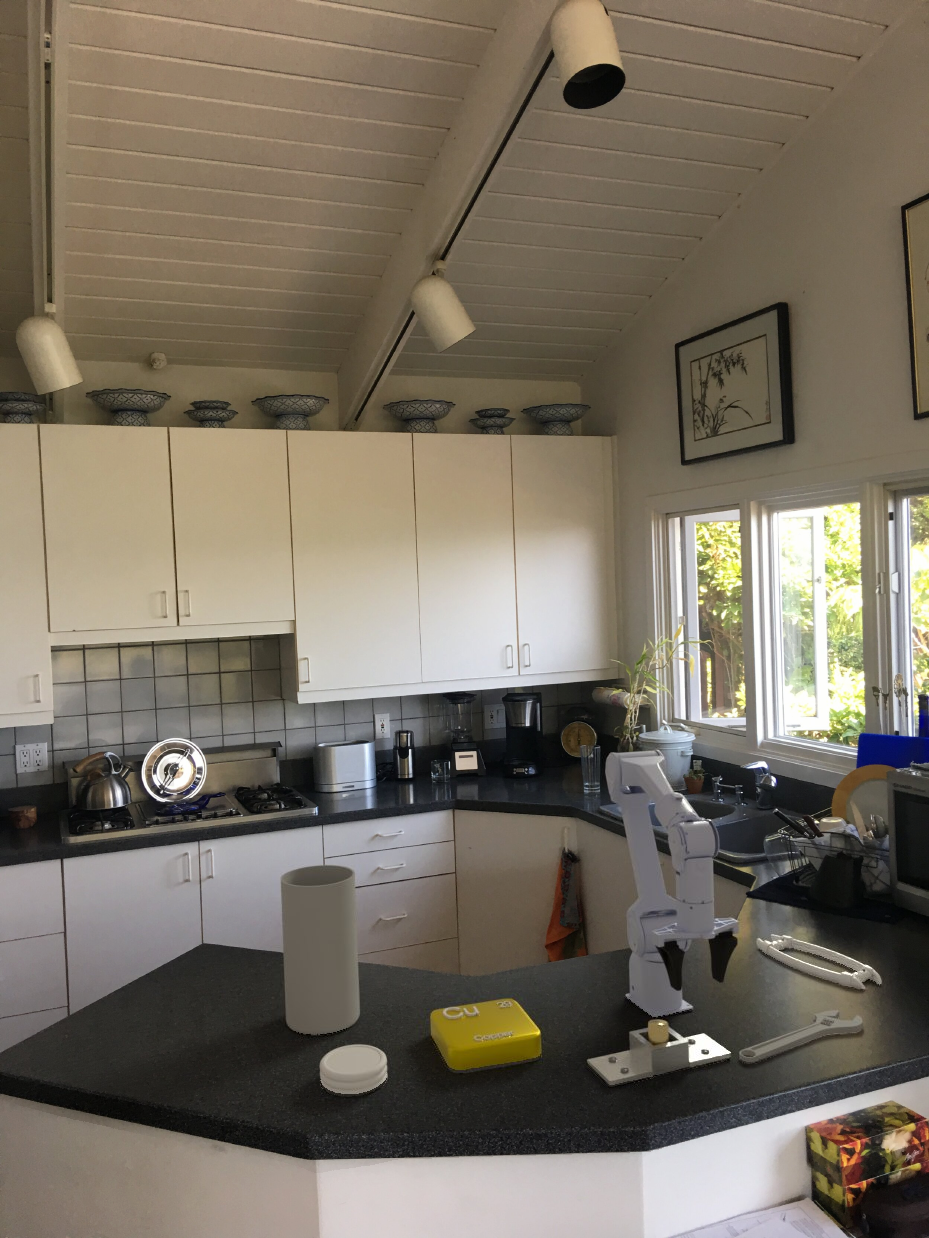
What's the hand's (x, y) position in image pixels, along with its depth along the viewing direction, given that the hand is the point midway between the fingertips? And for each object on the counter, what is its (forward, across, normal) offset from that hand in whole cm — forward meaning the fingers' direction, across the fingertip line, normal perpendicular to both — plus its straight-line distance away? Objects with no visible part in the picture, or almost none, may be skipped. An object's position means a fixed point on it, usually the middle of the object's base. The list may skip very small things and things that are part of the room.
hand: (697, 984), depth 148 cm
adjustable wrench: (+10, +16, -4) cm, 19 cm away
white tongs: (+11, +38, +19) cm, 44 cm away
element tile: (+10, -31, +13) cm, 35 cm away
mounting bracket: (+10, -8, -2) cm, 13 cm away
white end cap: (+10, -53, +11) cm, 55 cm away
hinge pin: (+10, -8, -2) cm, 13 cm away
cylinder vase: (+10, -53, +33) cm, 63 cm away
